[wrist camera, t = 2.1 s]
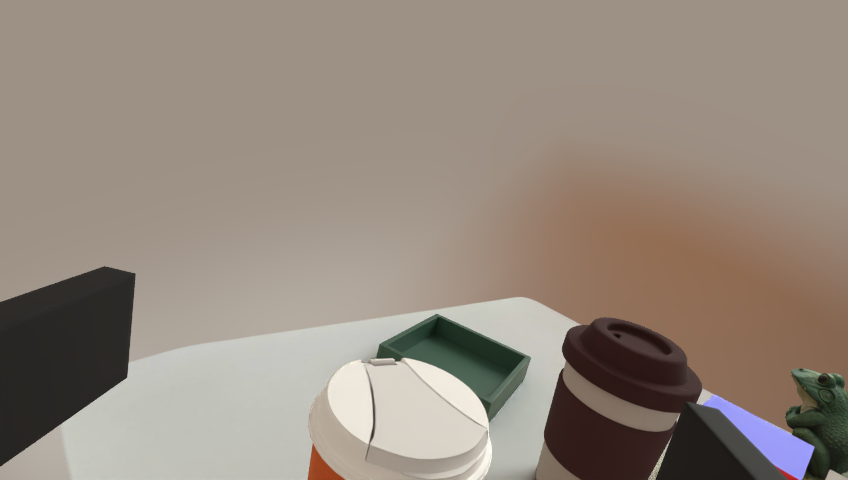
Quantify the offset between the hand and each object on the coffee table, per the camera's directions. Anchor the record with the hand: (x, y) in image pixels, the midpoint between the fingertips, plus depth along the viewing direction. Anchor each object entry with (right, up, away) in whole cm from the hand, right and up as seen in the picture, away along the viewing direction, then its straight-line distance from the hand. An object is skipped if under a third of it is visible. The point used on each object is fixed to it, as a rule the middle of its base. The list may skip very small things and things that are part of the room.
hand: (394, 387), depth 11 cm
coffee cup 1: (-4, -18, +13) cm, 22 cm away
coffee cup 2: (+13, -18, +28) cm, 36 cm away
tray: (+4, -12, +42) cm, 43 cm away
